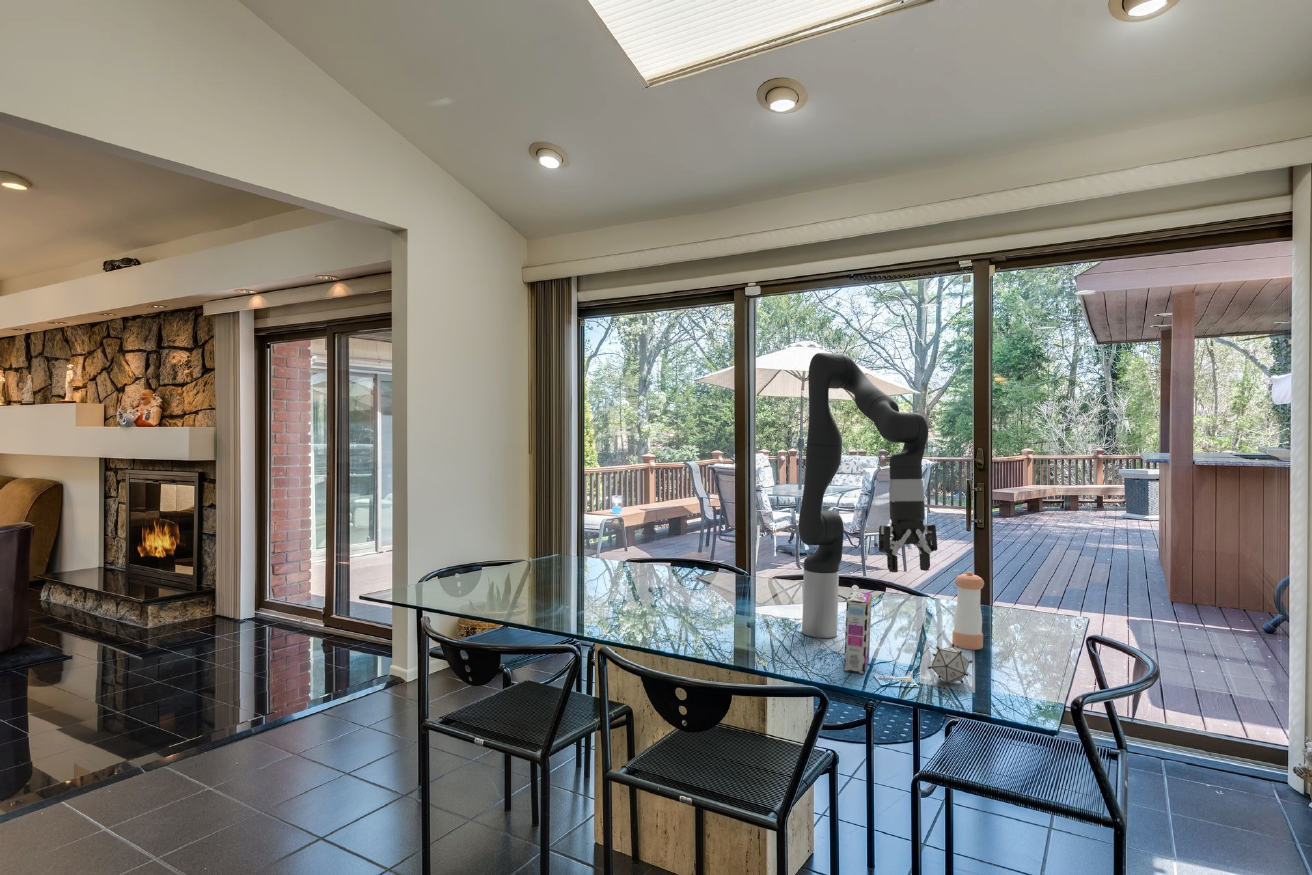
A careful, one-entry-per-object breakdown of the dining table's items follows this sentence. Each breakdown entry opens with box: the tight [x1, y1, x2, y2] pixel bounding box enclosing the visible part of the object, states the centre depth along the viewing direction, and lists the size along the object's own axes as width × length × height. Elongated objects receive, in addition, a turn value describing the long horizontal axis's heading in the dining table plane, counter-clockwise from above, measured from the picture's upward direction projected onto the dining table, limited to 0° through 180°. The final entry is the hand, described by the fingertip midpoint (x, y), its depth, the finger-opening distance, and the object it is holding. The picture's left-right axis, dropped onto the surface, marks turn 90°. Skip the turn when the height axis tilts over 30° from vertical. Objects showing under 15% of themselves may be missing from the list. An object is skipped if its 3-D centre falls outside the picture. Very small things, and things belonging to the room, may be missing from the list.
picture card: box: [873, 674, 920, 688], centre depth 158 cm, size 6×8×1 cm
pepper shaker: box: [951, 571, 985, 651], centre depth 187 cm, size 7×7×19 cm
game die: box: [927, 643, 974, 687], centre depth 159 cm, size 9×8×10 cm
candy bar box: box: [843, 591, 873, 675], centre depth 169 cm, size 11×5×16 cm, turn 159°
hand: (909, 571), depth 163 cm, fingers open, 8 cm apart
